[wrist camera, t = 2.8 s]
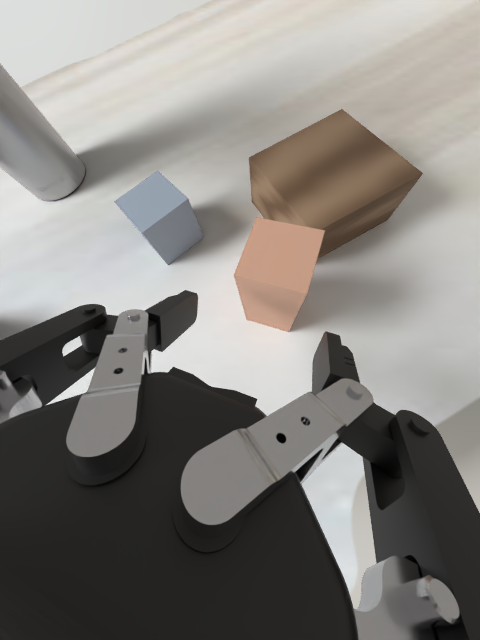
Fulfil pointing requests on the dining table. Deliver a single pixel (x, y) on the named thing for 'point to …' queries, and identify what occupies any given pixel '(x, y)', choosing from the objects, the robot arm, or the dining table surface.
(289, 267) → the pillar block
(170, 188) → the slate cube
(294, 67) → the dining table surface
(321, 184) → the walnut block
